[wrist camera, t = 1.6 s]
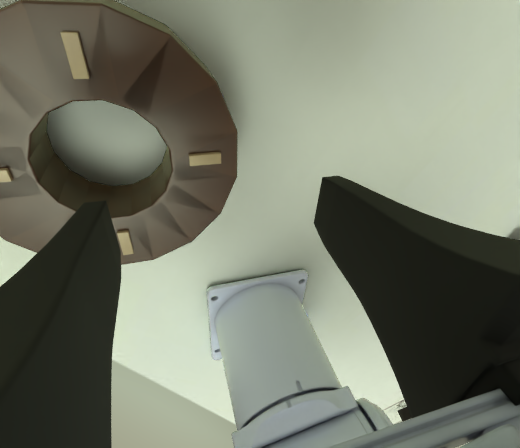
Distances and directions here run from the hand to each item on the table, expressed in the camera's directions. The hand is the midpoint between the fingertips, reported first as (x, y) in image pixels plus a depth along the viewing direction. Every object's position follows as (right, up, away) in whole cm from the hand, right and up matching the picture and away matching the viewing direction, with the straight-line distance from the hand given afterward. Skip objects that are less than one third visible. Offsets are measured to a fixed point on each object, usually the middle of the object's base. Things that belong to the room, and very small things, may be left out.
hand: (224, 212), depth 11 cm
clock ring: (-6, +4, +5) cm, 8 cm away
